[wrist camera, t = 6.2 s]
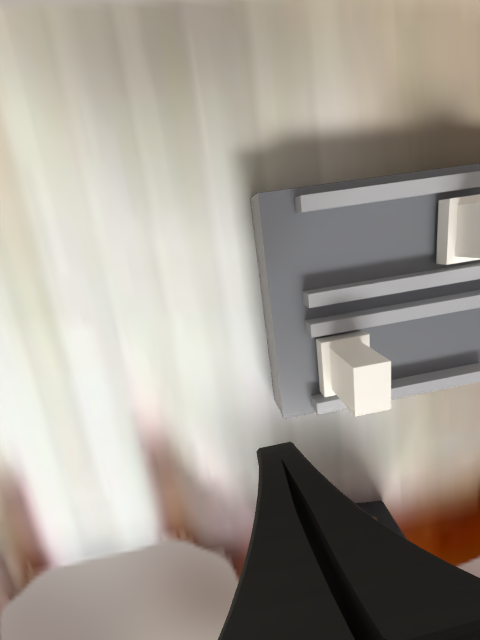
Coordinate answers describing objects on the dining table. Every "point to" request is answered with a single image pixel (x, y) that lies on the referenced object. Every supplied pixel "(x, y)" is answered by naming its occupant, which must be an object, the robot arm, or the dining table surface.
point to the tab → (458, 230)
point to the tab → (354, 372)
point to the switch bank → (366, 282)
